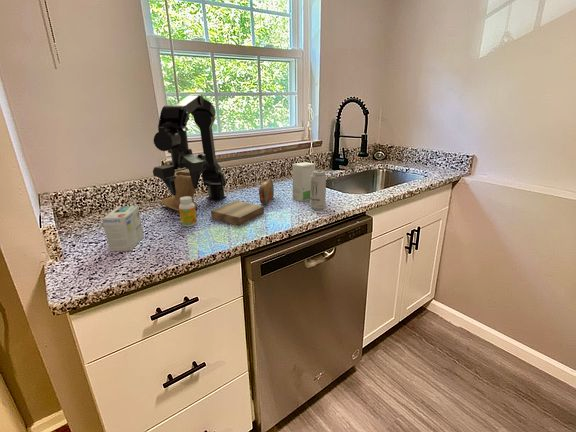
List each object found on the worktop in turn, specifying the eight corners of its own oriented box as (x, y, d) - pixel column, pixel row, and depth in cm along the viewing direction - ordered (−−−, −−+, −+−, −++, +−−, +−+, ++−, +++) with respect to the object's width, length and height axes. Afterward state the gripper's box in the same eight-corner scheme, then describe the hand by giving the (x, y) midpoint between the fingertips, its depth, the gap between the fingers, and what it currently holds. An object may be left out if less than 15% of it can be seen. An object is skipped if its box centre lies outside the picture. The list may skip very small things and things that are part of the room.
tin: (265, 207, 127) (264, 187, 124) (258, 206, 128) (257, 187, 125) (274, 196, 141) (274, 178, 138) (267, 196, 142) (267, 177, 139)
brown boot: (206, 208, 127) (201, 172, 122) (178, 215, 119) (173, 177, 114) (187, 200, 137) (182, 166, 132) (161, 207, 129) (155, 171, 124)
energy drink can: (307, 208, 125) (307, 171, 120) (316, 204, 129) (317, 169, 124) (318, 211, 122) (319, 174, 116) (328, 207, 126) (329, 171, 120)
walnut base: (211, 218, 116) (210, 210, 115) (236, 207, 127) (235, 200, 126) (240, 225, 109) (239, 217, 108) (264, 213, 120) (263, 206, 119)
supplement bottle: (182, 227, 108) (179, 201, 105) (180, 222, 113) (176, 197, 109) (198, 224, 110) (195, 198, 107) (195, 220, 115) (192, 194, 111)
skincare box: (301, 202, 132) (302, 166, 127) (291, 199, 137) (291, 163, 131) (315, 198, 138) (316, 163, 132) (305, 195, 142) (305, 161, 137)
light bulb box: (123, 237, 102) (116, 205, 98) (144, 236, 102) (138, 205, 98) (108, 252, 92) (100, 218, 88) (132, 251, 92) (125, 217, 88)
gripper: (171, 152, 90) (179, 203, 96) (217, 144, 105) (221, 188, 111) (147, 149, 96) (156, 197, 102) (194, 142, 111) (199, 184, 116)
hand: (185, 192), depth 107 cm, fingers open, 9 cm apart
